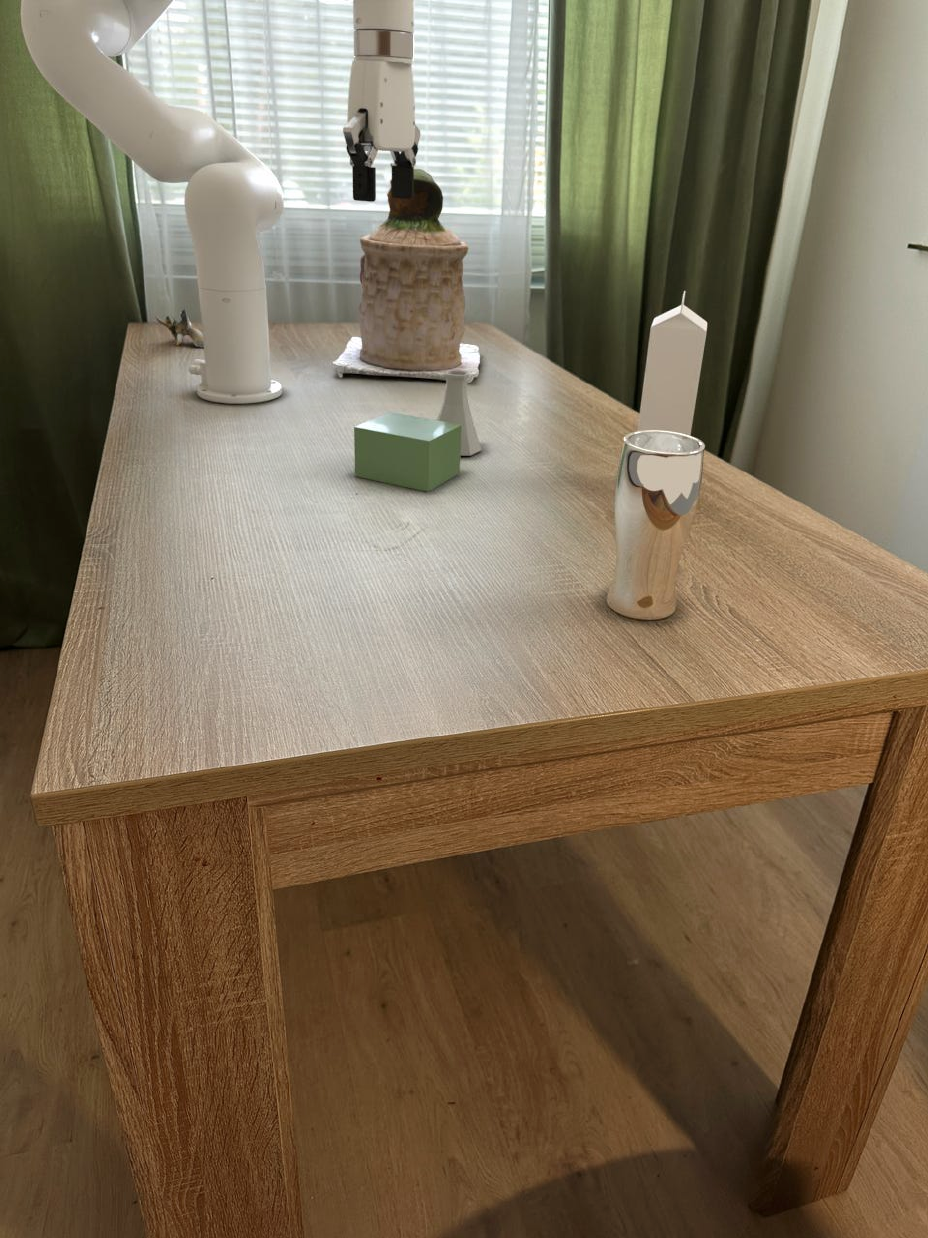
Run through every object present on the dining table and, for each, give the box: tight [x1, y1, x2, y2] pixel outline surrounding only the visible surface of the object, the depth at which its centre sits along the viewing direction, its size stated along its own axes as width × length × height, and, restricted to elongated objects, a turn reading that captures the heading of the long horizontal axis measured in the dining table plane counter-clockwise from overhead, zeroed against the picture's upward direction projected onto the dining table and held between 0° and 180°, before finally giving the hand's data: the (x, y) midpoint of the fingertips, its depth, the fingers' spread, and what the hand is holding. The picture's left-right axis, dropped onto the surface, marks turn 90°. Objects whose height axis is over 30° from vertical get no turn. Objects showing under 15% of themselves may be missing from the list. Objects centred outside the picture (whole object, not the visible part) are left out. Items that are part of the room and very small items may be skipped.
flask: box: [436, 370, 482, 457], centre depth 118 cm, size 7×7×10 cm
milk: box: [637, 290, 708, 436], centre depth 106 cm, size 6×6×22 cm
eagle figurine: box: [155, 308, 204, 349], centre depth 170 cm, size 8×7×9 cm
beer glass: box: [606, 430, 706, 621], centre depth 79 cm, size 7×7×15 cm
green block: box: [353, 411, 462, 493], centre depth 109 cm, size 10×8×6 cm
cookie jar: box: [332, 162, 482, 384], centre depth 155 cm, size 25×25×32 cm
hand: (384, 199), depth 124 cm, fingers open, 9 cm apart
